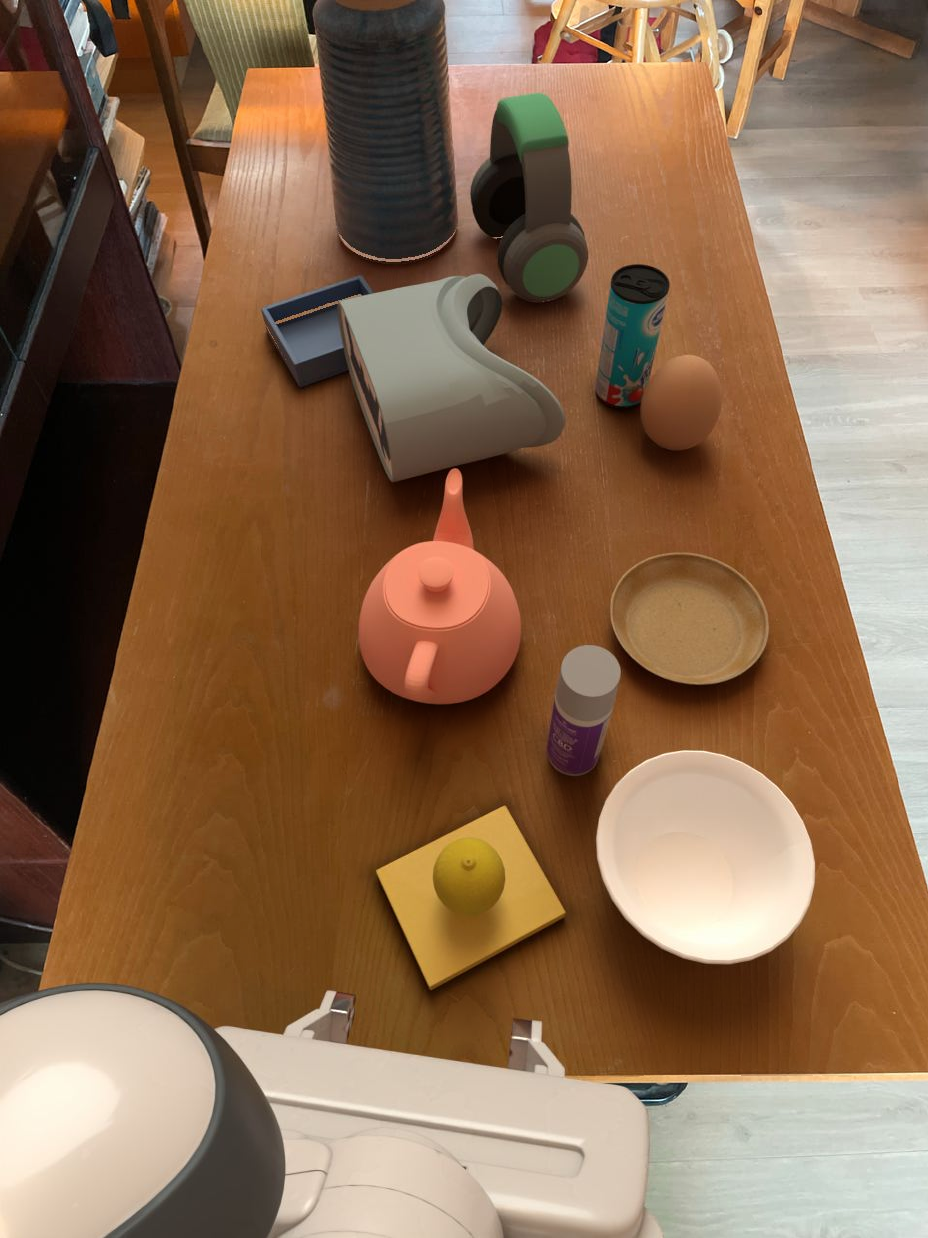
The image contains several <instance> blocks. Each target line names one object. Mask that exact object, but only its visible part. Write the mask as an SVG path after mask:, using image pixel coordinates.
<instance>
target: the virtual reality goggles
mask: <svg viewBox="0 0 928 1238" xmlns="http://www.w3.org/2000/svg"><path fill="white" fill-rule="evenodd" d="M337 309H338V319H339V326H340V332H341V338H342V343H343V348H344V352H345V356H346V360H347V364H348V368H349V370H348V371H349V375H350V379H351V381H352V386H353V388H354V391H355V394H356V397H357V400H358V403H359V405H360V409H361V411H362V414H363V417H364V419H365V422H366V425H367V427H368V431H369V433H370V436H371V439H372V441H373V444H374V447H375V449H376V452H377V454H378V457H379V459H380V462H381V464H382V467H383V469H384V471H385V473H386V475H387V478H388V479H389V481H390V482H391V483H396V482H399V481H404V480H408V479H411V478H414V477H419V476H422V475H426V474H430V473H433V472H438V471H441V470H445V469H449V468H454V467H458V466H461V465H466V464H470V463H473V462H474V463H475V462H478V461H483V460H485V459H489V458H493V457H497V456H501V455H504V454H507V453H508V454H509V453H510V452H514V451H518V450H520V449H524V448H525V449H526V448H535V447H542V446H545V445H549V444H552V443H554V442H555V441H557V440H558V439H559V438H560V437H561V435H562V433H563V431H564V428H565V426H566V415H565V411H564V409H563V407H562V404H561V403H560V401H559V400H558V398H557V397H556V396H555V395H554V393H553V392H552V391H551V390H550V389H549V388H548V387H547V386H546V385H545V384H544V383H543V382H542V381H540V379H538V378H537V377H534V376H533V375H532V374H530V373H529V372H527V371H525V370H523V369H522V368H520V367H519V366H516V365H514V364H513V363H511V362H509V361H507V360H506V359H503V358H502V357H500V356H498V355H497V354H495V353H493V352H491V351H490V350H488V348H486V347H485V345H486V343H487V342H488V340H489V339H490V337H491V336H492V334H493V332H494V330H495V328H496V327H497V325H498V323H499V321H500V318H501V315H502V311H503V298H502V295H501V293H500V291H499V289H498V287H497V285H496V283H494V282H493V281H492V280H491V279H490V278H489V277H488V276H486V275H484V274H482V273H474V274H471V275H469V276H463V275H454V276H448V277H444V278H442V279H438V280H435V281H430V282H423V283H418V284H413V285H408V286H401V287H397V288H393V289H387V290H383V291H379V292H374V293H373V294H369V295H364V296H359V297H355V298H350V299H346V300H341V301H338V306H337Z"/></svg>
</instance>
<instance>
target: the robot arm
mask: <svg viewBox="0 0 928 1238" xmlns="http://www.w3.org/2000/svg"><path fill="white" fill-rule="evenodd" d="M356 997H357V995H356V994H355V993H354V994H353V993H349V992H343V991H337V990H336V991H335V990H331V989H327V990H326V992H325V994H324V996H323V998H322V1000H321V1004H320V1005H319V1008H315V1009H314V1010H312V1011H310V1012H309V1013H307V1014H305V1015H304V1016H302V1017H300V1018H298V1019H297V1020H295V1021H293V1022H292V1023H290V1024H288V1025H286V1027H285V1030H284V1032H283V1034H281V1033H274V1032H267V1031H261V1030H254V1029H248V1028H242V1027H237V1026H236V1027H235V1026H230V1025H221V1026H219V1027H216V1028H214V1027H212V1025H210V1023H208V1022H206V1021H205V1020H204V1019H203V1018H202V1017H200V1016H199V1015H197V1014H196V1013H195V1012H193V1011H192V1010H190V1009H188V1008H187V1007H185V1006H184V1005H182V1004H180V1003H177V1002H176V1001H174V1000H172V999H170V998H169V997H166V996H163V995H161V994H158V993H156V992H153V991H149V990H147V989H143V988H140V987H134V986H131V985H125V984H119V983H108V982H106V983H105V982H83V983H81V982H80V983H73V984H64V985H59V986H55V987H49V988H43V989H40V990H36V991H33V992H29V993H26V994H23V995H19V996H16V997H13V998H11V999H8V1000H5V1001H3V1002H0V1238H665V1235H664V1232H663V1229H662V1227H661V1225H660V1223H659V1221H658V1219H657V1218H656V1217H655V1215H654V1214H653V1213H652V1212H651V1211H650V1210H649V1209H648V1208H647V1207H646V1206H645V1204H646V1196H647V1190H648V1181H649V1170H650V1151H651V1143H650V1142H651V1140H650V1139H651V1138H650V1134H651V1133H650V1119H649V1117H650V1116H649V1112H648V1108H647V1107H646V1105H645V1104H644V1102H642V1101H641V1100H640V1099H639V1097H637V1096H636V1094H635V1093H634V1092H632V1090H630V1089H629V1088H628V1087H625V1086H623V1085H617V1084H612V1083H604V1082H599V1081H598V1082H597V1081H591V1080H584V1079H580V1078H579V1079H577V1078H571V1077H566V1069H565V1067H564V1065H563V1064H562V1063H561V1061H560V1060H559V1059H558V1058H557V1057H556V1055H555V1054H554V1053H553V1052H552V1051H551V1049H550V1048H549V1047H548V1046H547V1045H546V1043H545V1042H543V1041H542V1040H543V1039H542V1038H543V1022H542V1021H541V1020H533V1019H523V1018H516V1017H512V1023H511V1032H510V1040H509V1051H508V1063H507V1068H506V1067H500V1066H499V1067H498V1066H493V1065H492V1066H491V1065H486V1064H481V1063H480V1064H479V1063H473V1062H466V1061H458V1060H453V1059H446V1058H441V1057H440V1058H439V1057H432V1056H427V1055H420V1054H412V1053H406V1052H401V1051H400V1052H399V1051H393V1050H386V1049H379V1048H374V1047H368V1046H360V1045H354V1044H347V1042H348V1040H349V1038H350V1031H351V1030H352V1028H353V1026H354V1020H355V1014H356V1009H355V1005H356V1002H357V1001H356V999H357V998H356Z"/></svg>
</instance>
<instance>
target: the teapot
mask: <svg viewBox="0 0 928 1238" xmlns="http://www.w3.org/2000/svg"><path fill="white" fill-rule="evenodd" d="M474 548H475V547H474V539H473V533H472V529H471V526H470V524H469V520H468V517H467V514H466V510H465V506H464V500H463V475H462V472H461V471H460V470H459V468H456V467H455V468H454V467H453V468H452V469H450V471H448V474H447V476H446V479H445V484H444V496H443V502H442V507H441V511H440V514H439V518H438V521H437V524H436V527H435V531H434V534H433V540H430V541H423V542H418V543H415V544H413V545H410V546H408V547H407V548H404V549H403V550H401V551H400V552H398V553H397V554H395V555H394V556H393V557H392V558H391V559H390V560H389V561H388V562H387V563H386V564H385V565H384V566H383V567H382V568H381V569H380V571H378V573H377V574H376V576H375V577H374V578H373V580H372V581H371V583H370V585H369V587H368V589H367V591H366V593H365V596H364V598H363V602H362V604H361V609H360V613H359V618H358V633H357V634H358V642H359V650H360V654H361V657H362V660H363V662H364V665H365V667H366V668H367V670H368V671H369V673H370V675H371V676H372V677H373V678H374V679H375V680H376V681H377V682H378V683H379V684H380V685H382V687H384V688H385V689H386V690H388V691H390V692H391V693H393V694H395V695H396V696H399V697H401V698H404V699H407V700H410V701H413V702H417V703H423V704H429V705H452V704H458V703H464V702H467V701H471V700H473V699H476V698H478V697H480V696H482V695H484V694H486V693H487V692H489V691H490V690H491V689H493V688H494V687H495V686H496V685H497V684H498V683H499V682H500V681H501V680H502V679H503V678H504V677H506V675H507V673H508V672H509V670H510V669H511V668H512V666H513V664H514V662H515V660H516V657H517V654H518V652H519V648H520V644H521V638H522V637H521V636H522V620H521V614H520V609H519V604H518V601H517V599H516V597H515V596H516V595H515V593H514V591H513V588H512V586H511V585H510V583H509V581H508V580H507V578H506V576H505V575H504V574H503V573H502V571H501V570H500V569H499V568H498V567H497V566H496V565H495V564H494V563H493V562H492V561H490V559H488V558H487V557H485V556H484V555H483V554H481V553H479V551H476V550H475V549H474Z"/></svg>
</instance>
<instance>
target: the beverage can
mask: <svg viewBox="0 0 928 1238" xmlns="http://www.w3.org/2000/svg"><path fill="white" fill-rule="evenodd" d="M670 284H671V283H670V279H669V278H668V275H666V274H665V273H664V272H663V271H662V270H660V269H659V268H657V267H655V266H651V265H648V264H641V263H635V264H633V263H632V264H627V265H625V266H622V267H620V268H618V269H617V270H615V272H614V273H612V276H611V279H610V287H609V292H608V300H607V306H606V310H605V311H606V313H605V318H604V325H603V330H602V331H603V333H602V339H601V345H600V353H599V359H598V366H597V375H596V380H595V386H594V387H595V392H596V395H597V397H598V398H599V400H600V401H601V402H602V403H603V404H604V405H606V406H608V407H611V408H613V409H624V410H625V409H631V408H634V407H635V406H638V404H641V401H642V397H643V393H644V390H645V388H646V385H647V384H648V382H649V381H650V379H651V373H652V368H653V364H654V361H655V360H654V359H655V355H656V351H657V346H658V342H659V338H660V333H661V328H662V323H663V318H664V315H665V309H666V304H667V300H668V295H669V291H670V286H671V285H670Z"/></svg>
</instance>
